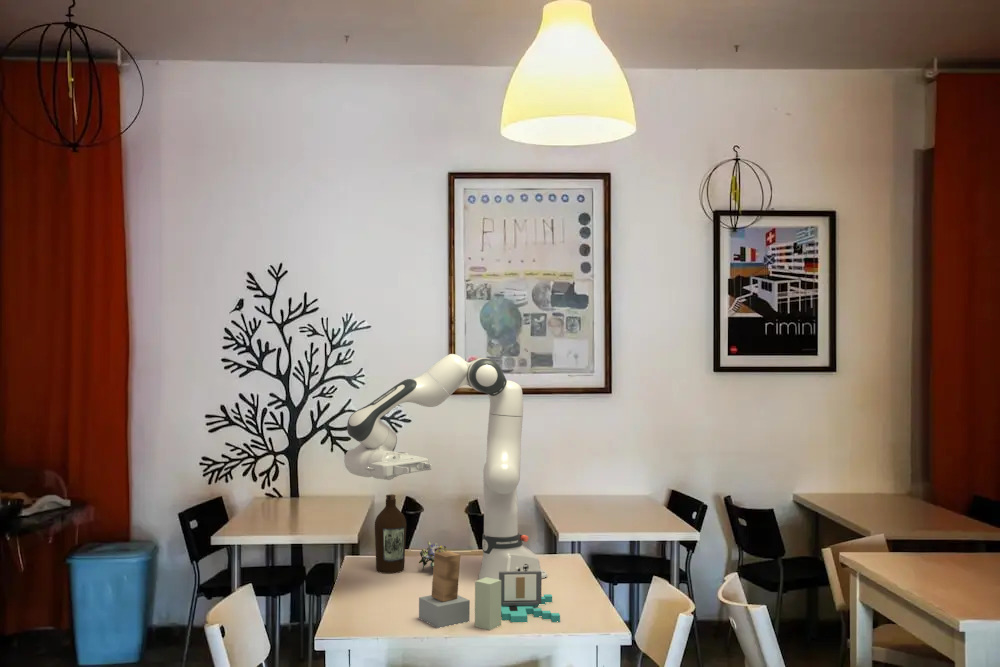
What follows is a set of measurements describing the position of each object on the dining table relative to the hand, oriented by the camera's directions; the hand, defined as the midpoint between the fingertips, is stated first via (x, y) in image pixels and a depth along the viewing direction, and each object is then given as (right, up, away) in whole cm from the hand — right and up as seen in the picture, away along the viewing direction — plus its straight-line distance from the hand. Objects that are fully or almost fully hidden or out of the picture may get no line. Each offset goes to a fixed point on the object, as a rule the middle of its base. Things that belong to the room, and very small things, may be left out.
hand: (419, 468), depth 249 cm
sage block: (+21, -37, -27) cm, 51 cm away
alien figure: (+30, -39, -14) cm, 51 cm away
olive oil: (-13, -39, +30) cm, 51 cm away
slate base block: (+9, -38, -22) cm, 45 cm away
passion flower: (+2, -39, +29) cm, 48 cm away
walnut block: (+9, -32, -22) cm, 40 cm away
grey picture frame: (+30, -36, -14) cm, 49 cm away
